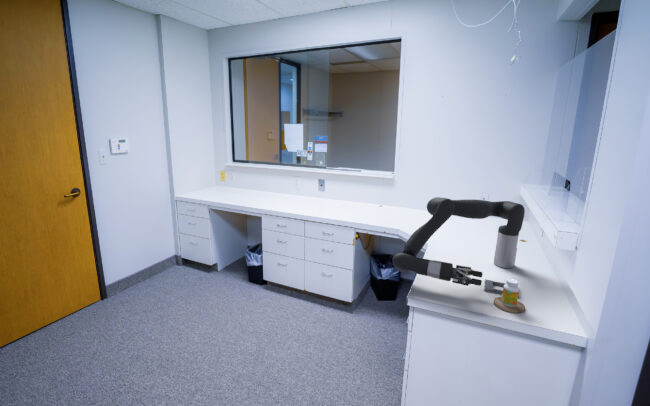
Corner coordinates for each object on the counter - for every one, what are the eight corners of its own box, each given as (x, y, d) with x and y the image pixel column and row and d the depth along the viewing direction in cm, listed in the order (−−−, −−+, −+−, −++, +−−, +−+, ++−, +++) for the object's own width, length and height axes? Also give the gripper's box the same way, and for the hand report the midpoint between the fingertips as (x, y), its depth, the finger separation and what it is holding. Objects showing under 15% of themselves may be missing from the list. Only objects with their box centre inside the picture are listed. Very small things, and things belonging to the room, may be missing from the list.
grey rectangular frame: (484, 281, 148) (485, 279, 148) (517, 288, 142) (518, 285, 142) (484, 290, 140) (484, 288, 139) (519, 298, 134) (519, 295, 134)
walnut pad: (504, 296, 135) (504, 294, 135) (531, 309, 126) (531, 307, 125) (487, 302, 130) (487, 300, 130) (513, 316, 121) (514, 314, 120)
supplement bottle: (502, 305, 126) (505, 282, 124) (500, 299, 131) (503, 276, 129) (517, 308, 124) (521, 285, 122) (515, 301, 129) (519, 279, 127)
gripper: (438, 267, 130) (482, 276, 123) (443, 256, 143) (483, 264, 136) (436, 285, 132) (480, 294, 125) (441, 272, 145) (481, 280, 137)
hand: (481, 278), depth 130 cm, fingers open, 8 cm apart
